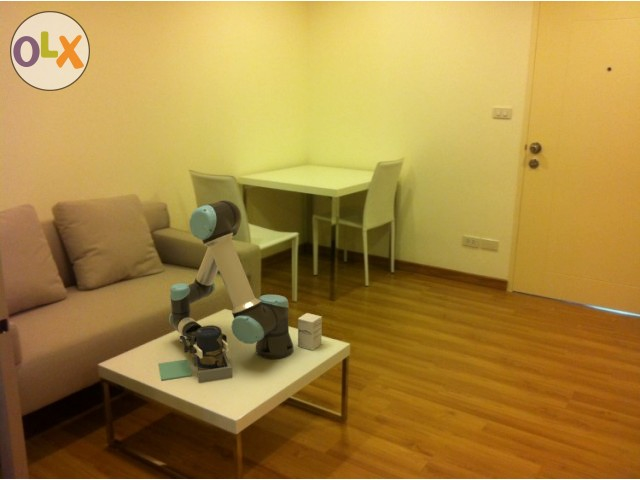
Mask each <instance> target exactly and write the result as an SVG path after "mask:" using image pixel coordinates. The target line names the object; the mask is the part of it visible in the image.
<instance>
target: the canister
mask: <svg viewBox="0 0 640 480" xmlns="http://www.w3.org/2000/svg"><path fill="white" fill-rule="evenodd" d="M222 334H223V331H222V328H221V327H219V326H218V325H213V324H212V325H211V324H210V325H203V326H202V327H201V328H199V329H198V330H197V331H196V343H195V345H196V346H197V347H198V348H199V349H200V350H202V356H203V358H200V357H199V356H198V355H197V362H198V366H197V372H198V371H203V370H209V369H216V368H222V367H224V364H223V351H224V349H223V345H222Z"/></svg>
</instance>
